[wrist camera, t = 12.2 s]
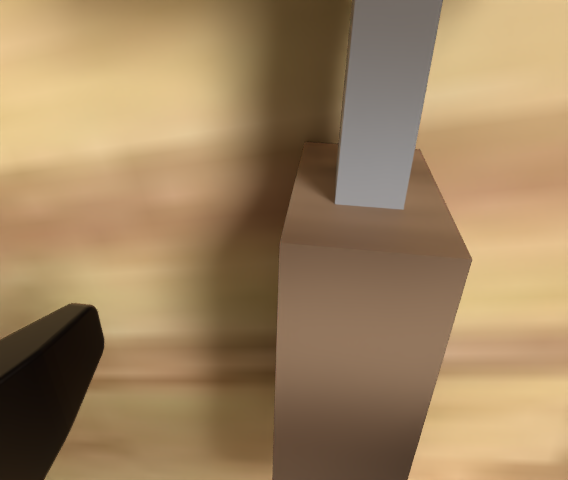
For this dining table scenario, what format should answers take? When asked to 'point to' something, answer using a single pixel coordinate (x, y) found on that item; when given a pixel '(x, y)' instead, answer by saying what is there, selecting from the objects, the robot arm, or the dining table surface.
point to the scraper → (366, 267)
